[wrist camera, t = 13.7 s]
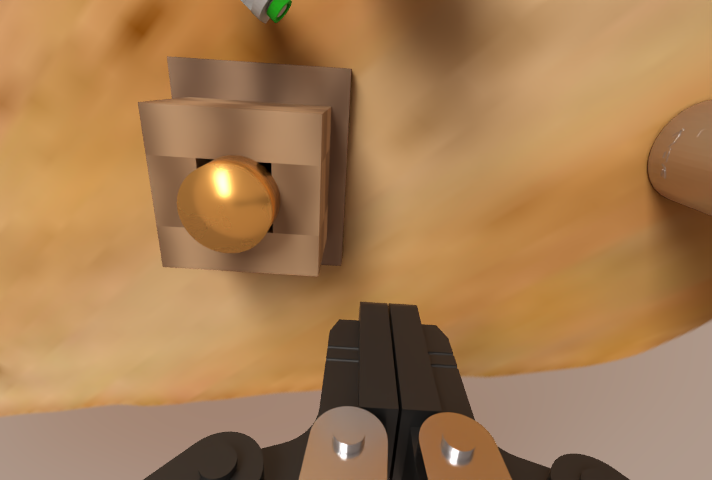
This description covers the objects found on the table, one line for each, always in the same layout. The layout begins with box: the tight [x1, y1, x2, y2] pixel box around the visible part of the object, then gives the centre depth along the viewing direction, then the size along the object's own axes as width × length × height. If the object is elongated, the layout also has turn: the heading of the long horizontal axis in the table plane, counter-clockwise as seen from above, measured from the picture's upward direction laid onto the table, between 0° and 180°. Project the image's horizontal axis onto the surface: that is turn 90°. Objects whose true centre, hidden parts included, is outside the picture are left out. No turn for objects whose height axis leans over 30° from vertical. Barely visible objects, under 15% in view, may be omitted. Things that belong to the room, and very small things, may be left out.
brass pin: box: [177, 155, 280, 253], centre depth 29 cm, size 6×6×10 cm
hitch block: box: [138, 57, 352, 276], centre depth 32 cm, size 15×18×10 cm
